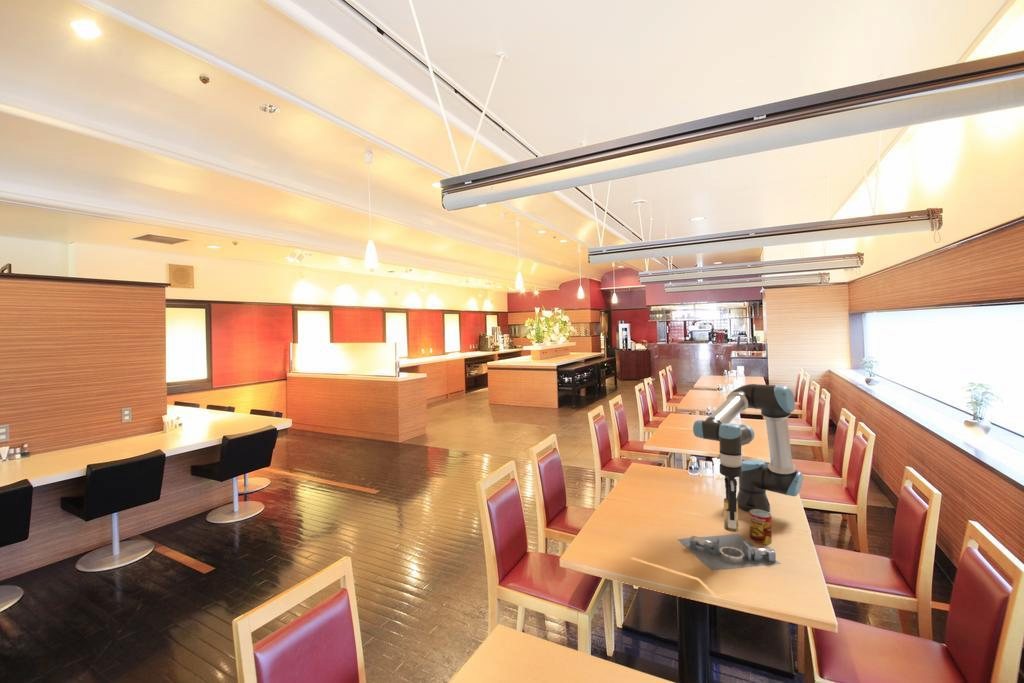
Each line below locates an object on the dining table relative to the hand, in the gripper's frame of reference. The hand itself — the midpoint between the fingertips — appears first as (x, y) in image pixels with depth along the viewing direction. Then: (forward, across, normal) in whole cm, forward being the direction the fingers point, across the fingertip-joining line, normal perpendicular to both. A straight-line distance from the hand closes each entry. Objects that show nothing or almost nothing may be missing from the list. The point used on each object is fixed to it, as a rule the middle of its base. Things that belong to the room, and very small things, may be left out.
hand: (731, 524), depth 160 cm
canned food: (+14, -20, +13) cm, 28 cm away
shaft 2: (+13, -3, +10) cm, 16 cm away
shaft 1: (+13, -3, -10) cm, 16 cm away
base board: (+14, -5, -2) cm, 15 cm away
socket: (+13, 0, 0) cm, 13 cm away
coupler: (+2, 0, 0) cm, 2 cm away
